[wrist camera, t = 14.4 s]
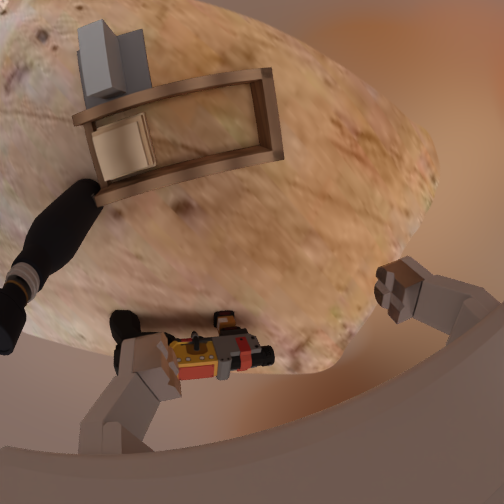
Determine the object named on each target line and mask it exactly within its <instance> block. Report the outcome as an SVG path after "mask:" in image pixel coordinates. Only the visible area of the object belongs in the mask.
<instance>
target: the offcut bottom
mask: <svg viewBox="0 0 504 504" xmlns="http://www.w3.org/2000/svg"><path fill="white" fill-rule="evenodd" d="M139 115H143V118H144V122H145V126H146V130H147V134H148V138H149V142H150V146H151V150H152V154H153V157H154V161H155V162H154V165H151V166H148V167H145V168H142V169H139V170H136V171H133V172H130V173H127V174H124V175H121V176H118V177H116V178H119V177H122V176H125V175H128V174H131V173H135V172H138V171H141V170H144V169H147V168H151V167H154V166H157V160H156V156H155V152H154V148H153V144H152V140H151V136H150V131H149V127H148V123H147V118H146V114H145V112H143V113H140V114H137V115H133V116H130V117H127V118H124V119H121V120H118V121H116V122H113V123H110V124H107V125H104V126H102V127H99V128H97V131H98V130H100V129H103V128H105V127H108V126H111V125H113V124H116V123H119V122H122V121H125V120H127V119H130V118H133V117H136V116H139ZM116 178H113V179H111V180H114V179H116Z"/></svg>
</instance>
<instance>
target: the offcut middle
mask: <svg viewBox="0 0 504 504" xmlns="http://www.w3.org/2000/svg"><path fill="white" fill-rule="evenodd" d="M137 121H138V122H139V126H140V130H141V134H142V138H143V142H144V146H145V150H146V154H147V158H148V161H149V166H151V165H154V162H155V161H154V157H153V154H152V150H151V146H150V142H149V138H148V134H147V130H146V126H145V122H144V118H143V115H139V116H136V117H133V118H130V119H127V120H125V121H122V122H119V123H116V124H113V125H111V126H108V127H105V128H103V129H100V130H98V131H95V132H93V133H92V137H95V136H98V135H100V134H103V133H105V132H108V131H111V130H114V129H116V128H119V127H122V126H125V125H128V124H131V123H134V122H137Z"/></svg>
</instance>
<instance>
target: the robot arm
mask: <svg viewBox="0 0 504 504" xmlns="http://www.w3.org/2000/svg"><path fill="white" fill-rule="evenodd" d="M376 277H377V278H378V281H377V282H376V284H375V287H374V294H375V298H376V300H377V302H378V304H379V305H380V306H381V307H383V308H386V309H388V315H389V316H390V317H391V318H392V319H393V320H394V321H395V323H396V324H399V323H401V322H403V321H406V320H408V319H410V318H412V317H413V318H414V319H416V320H418V321H421V322H423V323H425V324H427V325H429V326H431V327H433V328H436V329H437V330H440V331H442V332H444V333H446V334H448V335H450V336H449V338H448V340H447V342H446V346H445V347H444V348H442V349H441V350H439V351H438V352H436V353H435V354H433V355H432V356H430V357H428V358H427V359H425V360H423V361H422V362H420V363H418V364H417V365H415V366H414V367H412V368H410V369H408V370H407V371H405V372H403V373H401V374H399V375H397V376H396V377H394V378H392V379H390V380H388V381H386V382H384V383H382V384H380V385H378V386H376V387H374V388H372V389H370V390H368V391H366V392H364V393H362V394H360V395H358V396H355V397H353V398H351V399H349V400H347V401H344V402H342V403H340V404H338V405H335V406H332V407H330V408H327V409H325V410H323V411H320V412H317V413H315V414H312V415H309V416H307V417H304V418H301V419H298V420H295V421H292V422H289V423H286V424H283V425H280V426H277V427H274V428H270V429H267V430H264V431H260V432H256V433H253V434H249V435H245V436H242V437H237V438H233V439H229V440H224V441H219V442H215V443H210V444H204V445H199V446H193V447H187V448H181V449H173V450H165V451H157V452H155V451H153V450H152V449H151V448H150V447H148V446H147V445H146V444H144V443H143V442H142V440H143V438H144V436H145V434H146V432H147V430H148V427H149V425H150V423H151V421H152V419H153V417H154V415H155V412H156V410H157V408H158V406H159V404H160V402H161V401H166V400H170V399H175V398H179V397H182V394H181V384H180V381H179V379H178V377H177V375H178V373H179V365H178V361H177V357H176V355H175V352H174V350H173V348H172V347H170V346H168V339H167V337H166V336H165V334H164V333H163V332H160V333H155V334H150V335H145V336H140V337H136V338H131V339H126V340H124V341H123V342H122V346H121V354H120V363H119V373H118V376H115V377H114V378H113V379H112V381H111V382H110V383H109V385H108V386H107V387H106V389H105V390H104V391H103V393H102V394H101V395H100V397H99V398H98V399H97V401H96V402H95V404H94V405H93V407H92V408H91V409H90V410H89V412H88V413H87V415H86V416H85V417H84V419H83V420H82V422H81V424H80V434H79V448H78V454H65V453H53V452H43V451H35V450H27V449H22V448H16V447H10V446H5V447H2V448H1V449H0V504H504V302H503V303H500V302H498V301H497V300H496V299H495V298H494V297H493V296H492V295H491V294H489V293H488V292H487V291H486V290H485V289H484V288H482V287H478V286H475V285H471V284H468V283H465V282H461V281H458V280H454V279H451V278H447V277H443V276H440V275H433V274H431V273H430V272H429V271H428V270H427V269H425V268H424V267H423V266H422V265H420V264H419V263H418V262H417V261H415V260H414V259H413V258H411V257H409V256H406V257H403V258H401V259H398V260H396V261H394V262H391V263H388V264H386V265H383V266H381V267H378V269H377V271H376Z"/></svg>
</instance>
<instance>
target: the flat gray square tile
mask: <svg viewBox="0 0 504 504" xmlns="http://www.w3.org/2000/svg"><path fill="white" fill-rule="evenodd" d="M116 37H117V38H118V41H119V48H120V55H121V61H122V67H123V73H124V79H125V84H126V90H127V93H125V94H122V95H119V96H116V97H113V98H110V99H102V98H95V97H88V96H87V94H86V89H85V83H84V77H83V71H82V64H81V56H80V50H79V51H77V56H78V64H79V71H80V77H81V83H82V89H83V94H84V100H85V105H86V110H87V109H90V108H92V107H95V106H98V105H100V104H103V103H106V102H108V101H111V100H114V99H117V98H120V97H123V96H126V95H129V94H133V93H136V92H139V91H143V90H146V89H150V88H152V84H151V79H150V73H149V68H148V62H147V56H146V50H145V43H144V36H143V30H142V29H139V30H136V31H132V32H129V33H126V34H122V35H119V36H116Z"/></svg>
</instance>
